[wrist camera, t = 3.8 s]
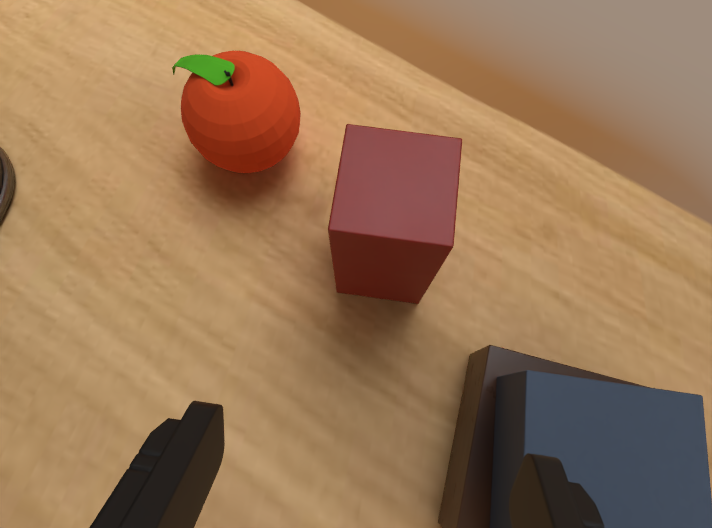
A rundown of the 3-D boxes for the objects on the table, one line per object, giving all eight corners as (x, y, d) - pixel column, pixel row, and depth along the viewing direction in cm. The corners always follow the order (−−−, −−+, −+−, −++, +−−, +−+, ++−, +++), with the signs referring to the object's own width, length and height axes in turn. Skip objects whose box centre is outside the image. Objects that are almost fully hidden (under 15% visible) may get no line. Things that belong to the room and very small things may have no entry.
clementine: (169, 160, 30) (115, 87, 23) (224, 83, 32) (189, -5, 25) (273, 209, 29) (249, 148, 22) (324, 127, 31) (315, 47, 24)
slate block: (650, 564, 20) (721, 600, 16) (488, 538, 20) (520, 568, 16) (642, 397, 22) (703, 395, 18) (496, 376, 22) (526, 369, 18)
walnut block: (611, 574, 23) (661, 606, 19) (437, 522, 24) (453, 543, 20) (626, 396, 26) (673, 393, 22) (469, 353, 26) (489, 344, 23)
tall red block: (418, 304, 27) (453, 247, 18) (336, 292, 27) (327, 230, 18) (426, 227, 29) (462, 137, 19) (348, 217, 29) (346, 123, 19)
